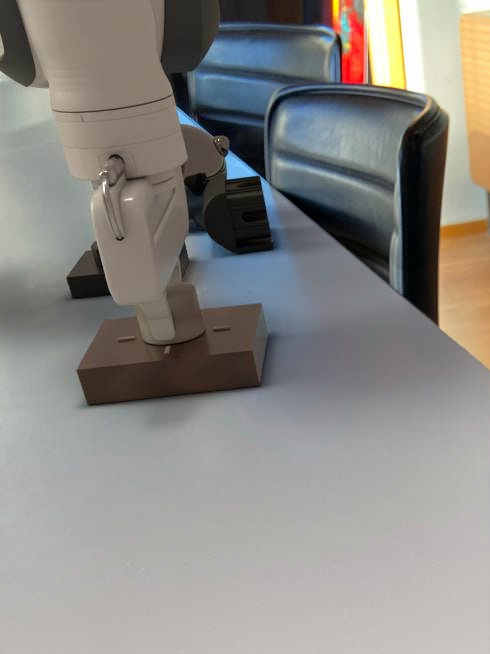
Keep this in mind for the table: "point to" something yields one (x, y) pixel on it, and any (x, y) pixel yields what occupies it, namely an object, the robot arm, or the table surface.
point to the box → (99, 273)
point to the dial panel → (175, 358)
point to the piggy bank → (201, 166)
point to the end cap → (236, 214)
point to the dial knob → (177, 314)
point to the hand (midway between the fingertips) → (171, 323)
